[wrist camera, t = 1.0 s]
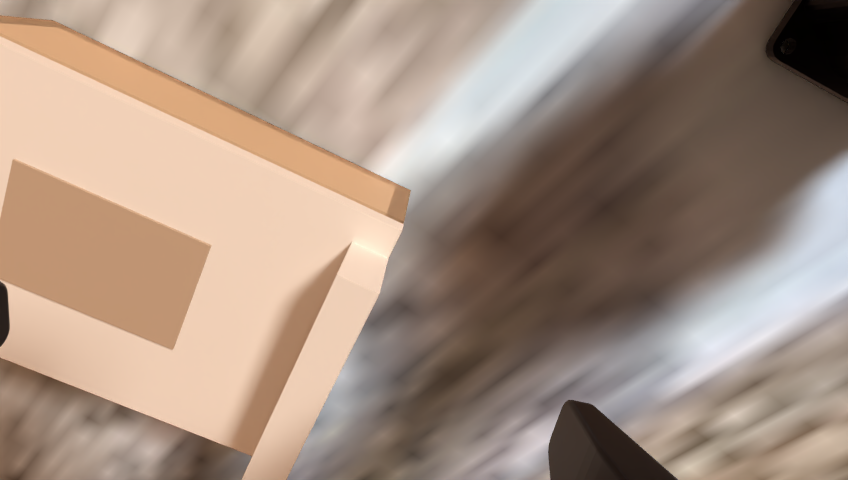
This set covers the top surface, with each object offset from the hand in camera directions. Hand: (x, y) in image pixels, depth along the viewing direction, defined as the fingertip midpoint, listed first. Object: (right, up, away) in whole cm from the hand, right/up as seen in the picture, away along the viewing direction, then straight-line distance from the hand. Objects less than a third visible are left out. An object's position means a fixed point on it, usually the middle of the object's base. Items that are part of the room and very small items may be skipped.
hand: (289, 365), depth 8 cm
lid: (-7, +1, +8) cm, 11 cm away
